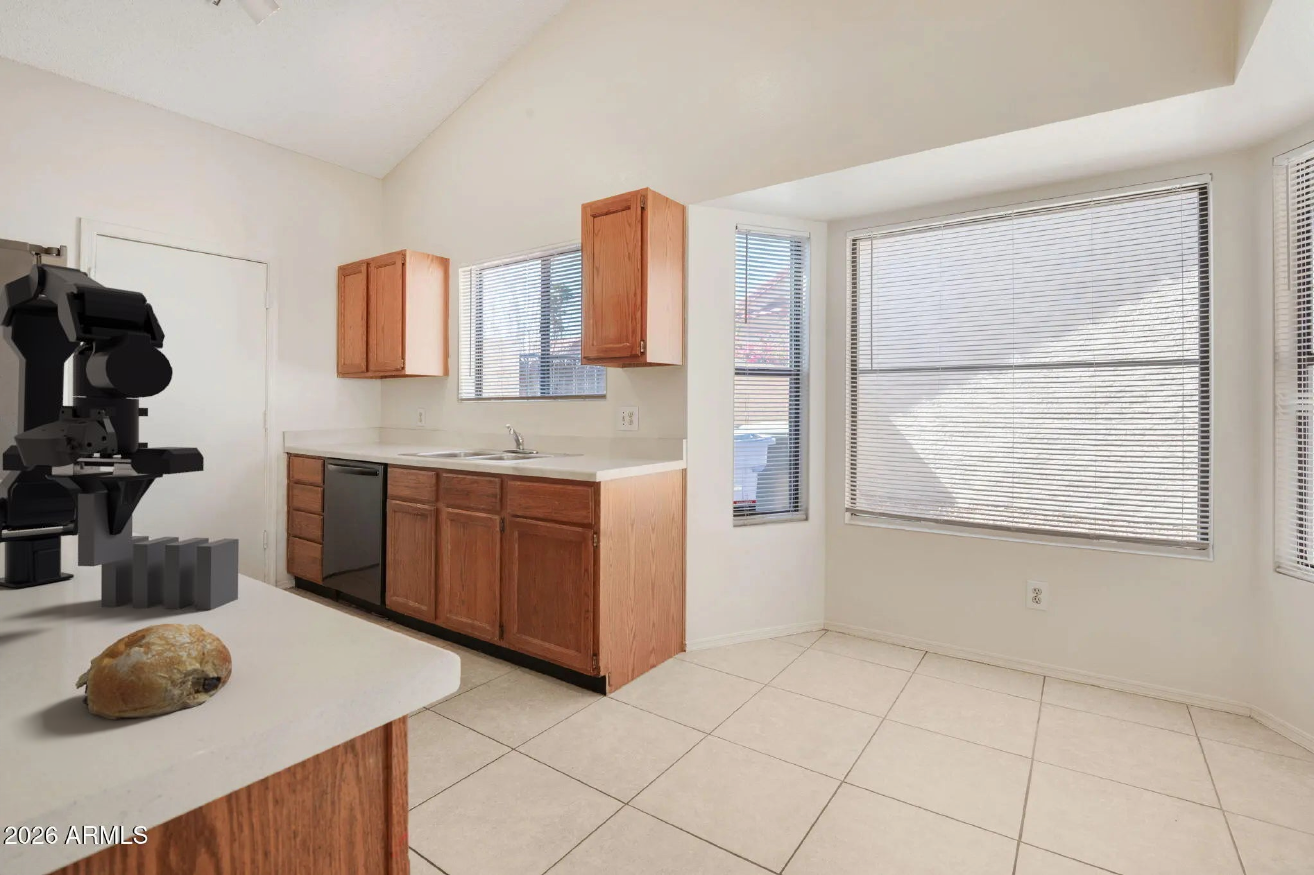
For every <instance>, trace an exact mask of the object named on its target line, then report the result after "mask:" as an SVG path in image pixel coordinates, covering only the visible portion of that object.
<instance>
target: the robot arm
mask: <svg viewBox="0 0 1314 875" xmlns="http://www.w3.org/2000/svg"><path fill="white" fill-rule="evenodd" d="M0 326H1V327H2V338H3V340H4V341H5V343H6V344H7V345H8V346H9V348H10V349H11V350H12V351H13V353H14V354H15V355H16V357H17V358H18V385H17V386H18V390H17V391H18V392H17V424H16V425H17V426H16V427H17V428H16V429H17V430H16V435H14V437H13V439H14V442H15V444H12V445H10V446H9V447H8V448H7V449H6V450H4V452H3V453H2V471H5V472H7V471H9V473H7V475H6V476H5V477H4V478H2V480H1V481H0V544H1V543H4V577H0V586H4V587H5V586H6V587H9V588H15V589H19V588H25V587H29V586H30V587H31V586H36V585H37V586H38V585H42V584H47V583H52V582H59V581H63V580H67V579H69V580H70V579H73V578H74V577H75V574H73V573H68V572H62V537H66V536H68V537H69V536H78V494H82V493H90V492H98V491H106V490H107V505H108V526H109V532H110V535H118V534H121V532H122V531H123V529H124V527H125V526H126V524H127V522H128V520H129V519H130V517H131V515H132V516H133V513H134V512H135V511H136V510H135V509H136V508H137V507H138V505H139V503H140V501H141V500H142V498H143V497H144V495H145V494H146V492H147V491H148V490H149V489H150V487H151V486H152V485H153V483H154V482H155V480H156V479H158V478H163V477H164V475H177V474H185V473H195V472H203V471H204V470H205V469H204V465H205V464H204V463H205V462H204V461H205V460H204V456H203V454H202V452H201V451H200V450H199V448H198V447H189V446H187V447H182V446H165V447H164V446H163V447H158V446H157V447H149V443H148V442H141V441H140V417H149V408H148V407H140V398H150V397H153V396H156V395H158V394H161V393H162V392H164V391H165V389H167V387H169V385H170V384H171V381H172V378H173V371H174V370H173V367H172V366H171V363H170V361H169V359H168V358H167V356H166V355H165V354H164V353H163V352H162V351H161V349H163V348H164V340H165V337H166V335H165V333H164V331H163V328H162V326H161V323H160V322H159V320H158V317H157V315H156V313H155V311H154V309H153V306H152V304H151V303H150V302H148V300H147V298H146V296H145V295H144V294H143V293H142V292H141V291H139V292H138V291H133V290H126V289H120V288H113V287H106V286H105V285H103V284H101V283H99V282H98V281H96V280H94V279H93V278H92V277H90V276H89V274H88V273H87V272H86V271H82V270H80V268H73V267H67V266H61V265H57V264H49V263H44V262H42V263H40V264H38V263H37V264H36V263H33V265H32V266H31V268H30V271H29V273H28V274H26V275H24V276H21V277H19V278H17V279H14V280H13V281H10V282H7V283H6V284H5V285H4V286H3V289H2V291H1V294H0ZM81 343H82V344H81ZM71 356H72V405H64V390H65V389H64V385H65V381H64V380H65V365H66V362H67V361H68V360H69V359H70V357H71ZM93 454H99V456H98V455H94V456H93ZM102 467H103V468H105V467H106V468H107V467H108V468H113V469H112V471H110V470H107V471H106V470H101V468H102ZM3 531H7V532H4V533H3Z"/></svg>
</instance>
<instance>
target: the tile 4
mask: <svg viewBox="0 0 1314 875" xmlns="http://www.w3.org/2000/svg"><path fill="white" fill-rule="evenodd" d="M209 539H210V538H209V537H192V538H188V539H184V540H179V542H175V543H171V544H167V545H165V602H164V610H181V609H184V608H185V607H188V606H192V605H194V604H196V595H197V546H199V545H202V544H206V543H210V540H209Z"/></svg>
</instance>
